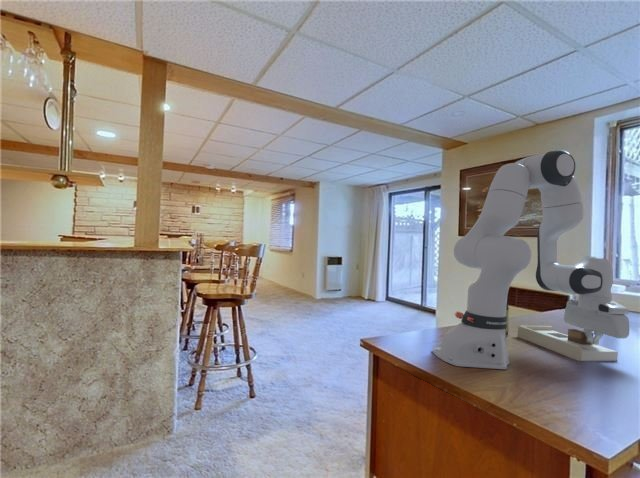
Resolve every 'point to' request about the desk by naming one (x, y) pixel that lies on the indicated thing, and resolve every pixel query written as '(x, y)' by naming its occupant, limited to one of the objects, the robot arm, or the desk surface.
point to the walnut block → (577, 336)
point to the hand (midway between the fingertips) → (592, 343)
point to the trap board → (565, 344)
